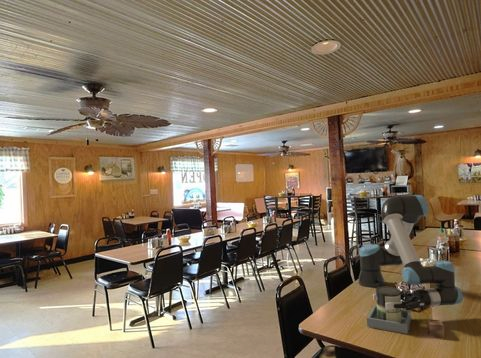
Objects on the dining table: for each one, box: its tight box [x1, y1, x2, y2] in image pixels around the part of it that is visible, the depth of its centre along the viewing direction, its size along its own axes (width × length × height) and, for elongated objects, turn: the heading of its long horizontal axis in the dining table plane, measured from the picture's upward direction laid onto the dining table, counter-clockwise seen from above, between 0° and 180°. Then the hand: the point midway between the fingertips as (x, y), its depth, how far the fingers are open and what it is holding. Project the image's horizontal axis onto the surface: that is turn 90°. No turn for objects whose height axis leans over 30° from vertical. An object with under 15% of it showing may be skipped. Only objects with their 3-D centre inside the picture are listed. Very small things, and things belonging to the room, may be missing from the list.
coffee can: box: [375, 285, 402, 323], centre depth 147 cm, size 10×10×14 cm
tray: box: [366, 305, 412, 335], centre depth 147 cm, size 16×16×4 cm
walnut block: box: [426, 318, 445, 339], centre depth 134 cm, size 5×5×5 cm
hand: (379, 301), depth 146 cm, fingers open, 10 cm apart
